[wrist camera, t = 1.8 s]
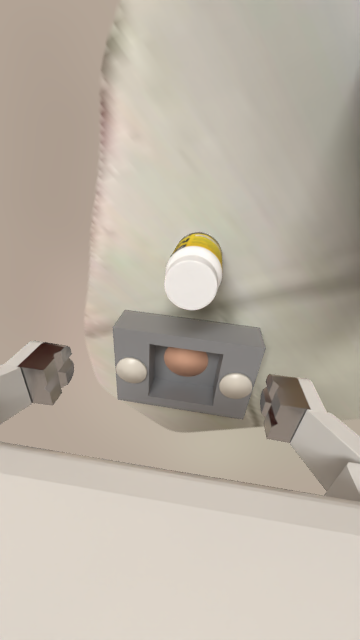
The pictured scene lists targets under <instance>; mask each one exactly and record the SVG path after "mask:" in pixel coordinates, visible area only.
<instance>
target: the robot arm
mask: <svg viewBox="0 0 360 640" xmlns="http://www.w3.org/2000/svg"><path fill="white" fill-rule="evenodd" d="M71 354H72V353H71V349H70V347H68V346H65V345H59V344H53V343H47V342H39V341H31V342H29V343H28V344H27V345H26V346H25V347H23V348H22V349H21V350H20V351H19V352H18V353H16V354H15V355H14V356H13V357H12V358H11V359H10V360H9V361H8V362H6V363H5V364H4V365H0V424H1V423H3V422H5V421H6V420H8V419H9V418H11V417H12V416H14V415H16V414H17V413H19V412H20V411H22V410H23V409H25V408H26V407H28V406H29V405H31V403H38V404H45V405H54V403H55V401H56V400H57V399H58V398H59V396H60V394H61V393H62V390H61V388H62V387H64V386H66V385H68V383H69V382H70V380H71V378H72V376H73V372H74V364H73V362H72V361H71V360H70V358H69V357H70V355H71ZM266 385H267V387H266V388H265V389H263V391H262V394H261V400H260V406H261V413H262V414H263V415H264V416H265V421H264V427H265V432H266V437H267V439H272V440H277V441H283V442H289V443H290V445H291V446H292V447H293V449H294V450H295V451H296V452H297V454H298V455H299V456H300V458H301V459H302V460H303V461H304V463H305V464H306V465H307V467H308V468H309V469H310V470H311V472H312V473H313V474H314V476H315V477H316V478H317V479H318V481H319V482H320V483H321V485H322V486H323V487H324V489H325V490H326V491H327V492H326V494H325V495H324V496H323V495H317V494H311V493H305V492H298V491H293V490H287V489H280V488H275V487H269V486H263V485H257V484H251V483H245V482H239V481H233V480H227V479H221V478H215V477H208V476H202V475H197V474H190V473H184V472H178V471H172V470H166V469H160V468H154V467H148V466H142V465H136V464H130V463H125V462H119V461H113V460H106V459H100V458H94V457H89V456H83V455H76V454H71V453H65V452H59V451H53V450H46V449H41V448H35V447H29V446H23V445H17V444H10V443H5V442H0V640H360V436H358V435H357V434H356V433H355V432H354V431H352V430H351V429H350V428H349V427H348V426H346V425H345V424H344V423H343V422H341V421H340V420H339V419H338V418H337V417H335V416H334V415H333V414H332V413H328V412H326V410H325V407H324V405H323V403H322V401H321V399H320V397H319V395H318V393H317V391H316V389H315V387H314V385H313V383H312V381H311V380H310V379H307V378H299V377H288V376H281V375H273V374H269V375H268V377H267V379H266Z"/></svg>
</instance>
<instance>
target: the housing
mask: <svg viewBox="0 0 360 640" xmlns="http://www.w3.org/2000/svg"><path fill="white" fill-rule="evenodd" d="M113 338H114V352H115V366H116V380H117V395H118V400H124V401H131V402H137V403H143V404H149V405H156V406H162V407H168V408H174V409H181V410H187V411H193V412H200V413H206V414H212V415H218V416H225V417H231V418H237V419H243V418H244V415H245V412H246V409H247V405H248V402H249V399H250V396H251V393H252V390H253V387H254V383H255V380H256V377H257V374H258V371H259V368H260V364H261V361H262V358H263V355H264V352H265V349H266V348H265V345H264V341H263V338H262V334H261V331H260V328H257V327H249V326H242V325H234V324H227V323H219V322H212V321H204V320H197V319H189V318H182V317H174V316H166V315H159V314H151V313H144V312H136V311H129V310H124V312H123V313H122V315H121V316H120V318H119V319H118V320H117V322H116V323H115V325H114V326H113Z"/></svg>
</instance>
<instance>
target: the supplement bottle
mask: <svg viewBox="0 0 360 640" xmlns="http://www.w3.org/2000/svg"><path fill="white" fill-rule="evenodd" d="M222 275H223V270H222V251H221V247H220V245H219V243H218V242H217V240H216V239H215V238H214V237H212V236H211V235H209V234H207V233H203V232H194V233H190V234H188V235H186V236H185V237H184V238H183V239H182V240H181V241H180V242H179V243H178V245H177V247H176V249H175V250H174V252H173V254H172V255H171V257H170V259H169V260H168V263H167V265H166V270H165V281H164V288H165V292H166V295H167V297H168V298H169V300H170V301H171V302H172V303H173V304H175V305H176V306H177V307H179V308H182V309H185V310H198V309H201V308H204V307H206V306H207V305H208V304H210V303H211V302H212V300H213V299H214V297H215V296H216V293H217V290H218V288H219V286H220V284H221V281H222Z"/></svg>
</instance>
